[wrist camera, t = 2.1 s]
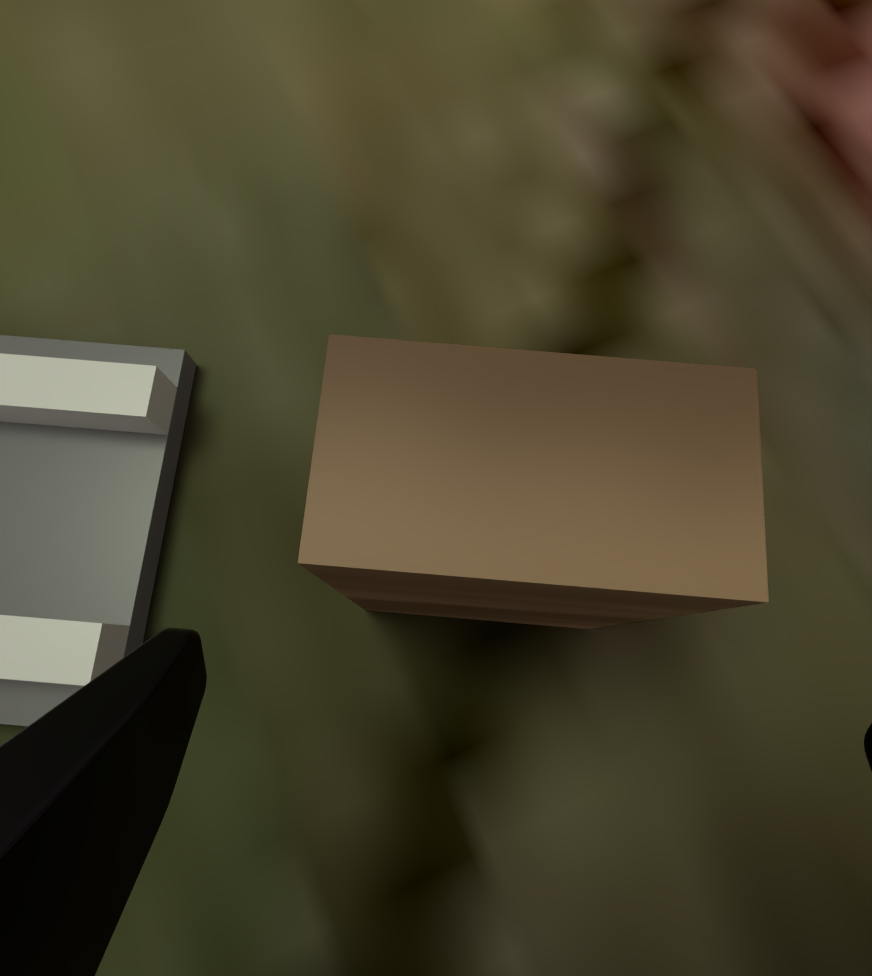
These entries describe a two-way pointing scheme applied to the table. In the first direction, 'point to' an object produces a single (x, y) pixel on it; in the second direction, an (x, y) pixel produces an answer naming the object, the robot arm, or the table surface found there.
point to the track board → (81, 508)
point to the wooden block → (534, 484)
